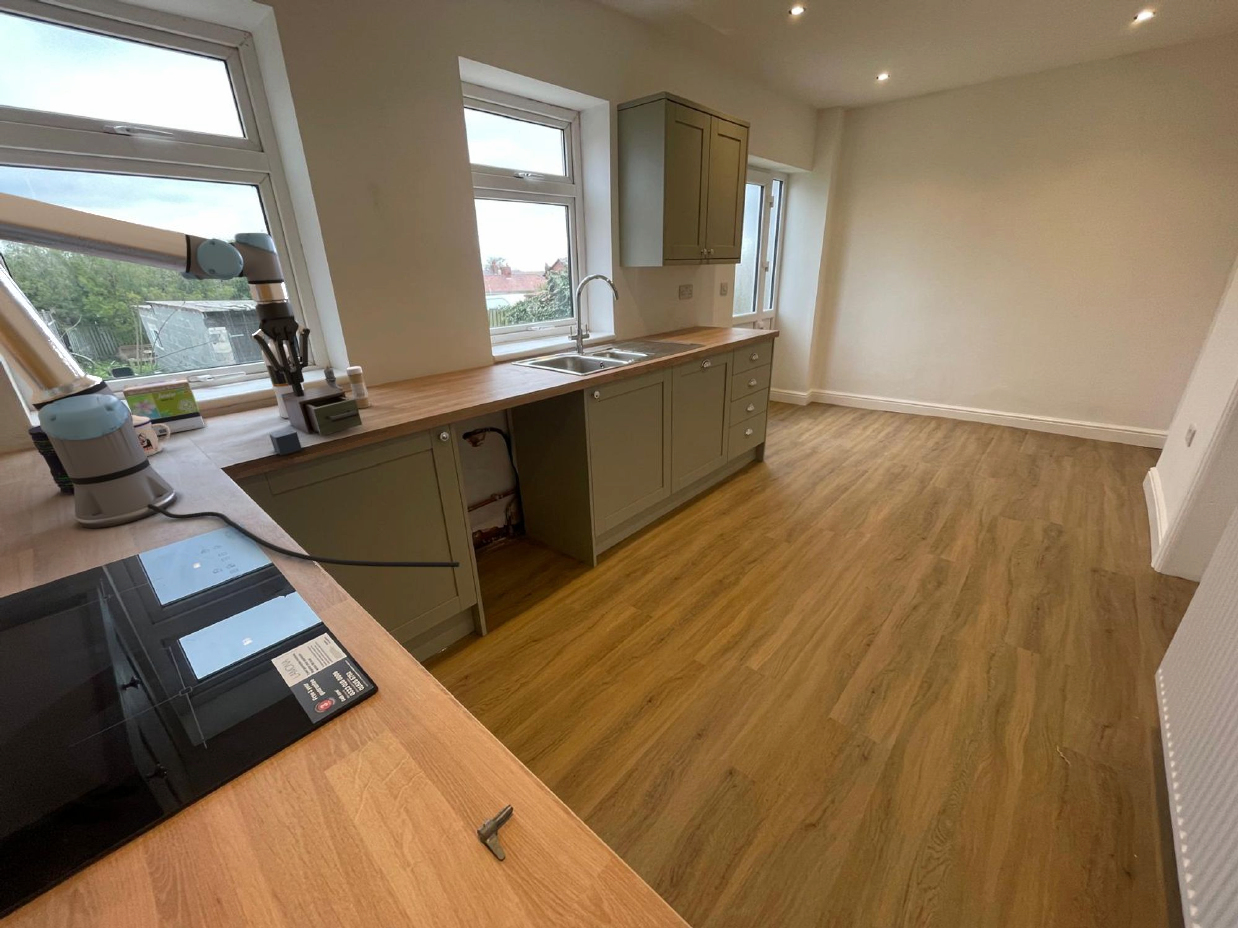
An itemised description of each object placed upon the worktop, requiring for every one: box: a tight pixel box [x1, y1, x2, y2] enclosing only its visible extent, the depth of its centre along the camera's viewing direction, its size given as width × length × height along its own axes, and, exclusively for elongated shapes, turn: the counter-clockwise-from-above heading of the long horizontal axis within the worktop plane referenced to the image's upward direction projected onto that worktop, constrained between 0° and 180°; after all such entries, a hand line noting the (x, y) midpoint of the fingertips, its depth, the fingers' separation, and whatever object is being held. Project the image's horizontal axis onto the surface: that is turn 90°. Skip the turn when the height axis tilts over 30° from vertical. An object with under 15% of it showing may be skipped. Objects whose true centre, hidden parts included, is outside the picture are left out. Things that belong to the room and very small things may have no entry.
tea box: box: [122, 376, 205, 436], centre depth 152 cm, size 15×10×15 cm, turn 131°
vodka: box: [261, 336, 305, 419], centre depth 158 cm, size 9×9×30 cm
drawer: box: [303, 396, 363, 437], centre depth 145 cm, size 18×11×8 cm, turn 49°
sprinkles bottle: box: [345, 365, 371, 409], centre depth 167 cm, size 5×5×14 cm
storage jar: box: [27, 425, 74, 496], centre depth 114 cm, size 10×10×15 cm
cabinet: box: [281, 384, 347, 435], centre depth 152 cm, size 15×13×10 cm
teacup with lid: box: [131, 414, 171, 457], centre depth 134 cm, size 12×9×12 cm
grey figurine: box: [323, 365, 343, 391], centre depth 179 cm, size 6×6×12 cm
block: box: [269, 428, 303, 457], centre depth 132 cm, size 5×5×5 cm
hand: (299, 395), depth 132 cm, fingers closed
